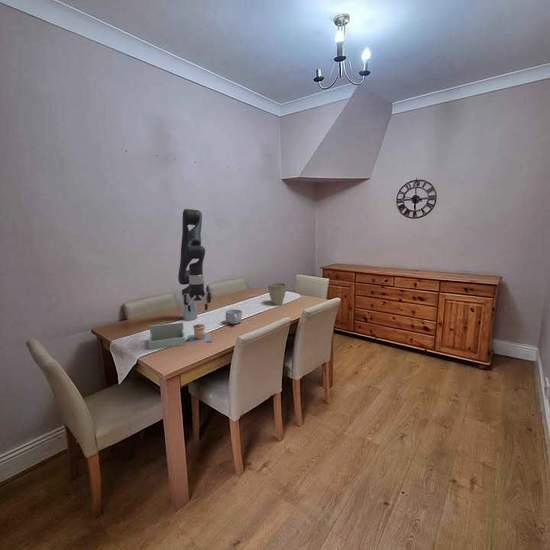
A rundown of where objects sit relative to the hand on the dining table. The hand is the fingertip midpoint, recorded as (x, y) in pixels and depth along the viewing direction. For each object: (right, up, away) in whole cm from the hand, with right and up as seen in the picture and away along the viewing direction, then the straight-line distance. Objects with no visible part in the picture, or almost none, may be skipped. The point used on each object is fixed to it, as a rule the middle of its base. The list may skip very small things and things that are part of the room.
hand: (197, 310), depth 169 cm
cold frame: (-16, -18, -2) cm, 24 cm away
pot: (0, -16, +3) cm, 16 cm away
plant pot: (+45, -3, +74) cm, 86 cm away
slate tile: (0, -17, +3) cm, 17 cm away
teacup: (+16, -12, +30) cm, 36 cm away
